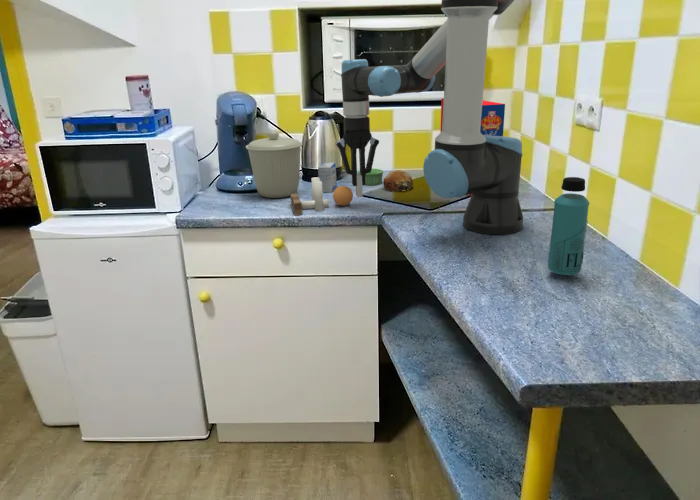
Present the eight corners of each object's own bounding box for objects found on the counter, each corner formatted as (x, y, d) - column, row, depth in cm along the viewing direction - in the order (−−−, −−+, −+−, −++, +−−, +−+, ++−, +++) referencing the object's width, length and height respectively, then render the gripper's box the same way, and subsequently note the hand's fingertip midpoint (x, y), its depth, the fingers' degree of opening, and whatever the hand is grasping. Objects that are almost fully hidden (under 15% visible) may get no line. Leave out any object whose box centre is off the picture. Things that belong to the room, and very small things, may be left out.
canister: (311, 188, 183) (307, 126, 175) (297, 202, 166) (292, 134, 159) (261, 187, 186) (255, 126, 179) (242, 201, 169) (235, 134, 162)
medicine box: (332, 192, 176) (331, 167, 173) (319, 192, 177) (317, 167, 174) (336, 187, 183) (335, 162, 180) (324, 187, 184) (323, 162, 181)
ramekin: (385, 180, 191) (385, 168, 189) (380, 186, 182) (380, 174, 181) (360, 180, 193) (360, 168, 191) (355, 186, 184) (355, 173, 183)
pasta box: (439, 179, 189) (441, 98, 179) (459, 177, 190) (463, 97, 181) (475, 199, 163) (480, 105, 153) (498, 196, 165) (505, 103, 155)
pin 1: (321, 206, 161) (319, 178, 158) (313, 206, 161) (312, 179, 158) (320, 204, 163) (318, 177, 160) (312, 204, 163) (310, 177, 160)
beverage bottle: (563, 284, 103) (575, 183, 96) (538, 273, 108) (548, 176, 101) (588, 278, 105) (601, 179, 98) (563, 267, 111) (574, 173, 104)
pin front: (328, 200, 158) (300, 202, 157) (329, 208, 159) (300, 210, 158) (327, 198, 160) (299, 200, 159) (327, 206, 161) (300, 208, 160)
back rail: (302, 214, 153) (301, 203, 152) (295, 215, 153) (294, 203, 151) (297, 204, 164) (297, 193, 163) (291, 204, 164) (290, 193, 162)
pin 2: (323, 210, 156) (322, 182, 153) (315, 211, 156) (314, 183, 153) (322, 208, 159) (321, 180, 156) (314, 209, 158) (313, 181, 155)
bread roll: (412, 196, 183) (412, 173, 183) (413, 190, 172) (413, 166, 173) (383, 196, 184) (384, 173, 184) (382, 190, 173) (382, 166, 174)
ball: (336, 188, 155) (332, 207, 158) (356, 192, 157) (351, 210, 159) (334, 181, 161) (329, 199, 163) (353, 184, 162) (348, 202, 165)
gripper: (375, 113, 157) (377, 191, 165) (331, 116, 155) (335, 195, 163) (381, 116, 150) (383, 197, 158) (336, 118, 148) (340, 201, 156)
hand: (359, 196), depth 160 cm, fingers closed
